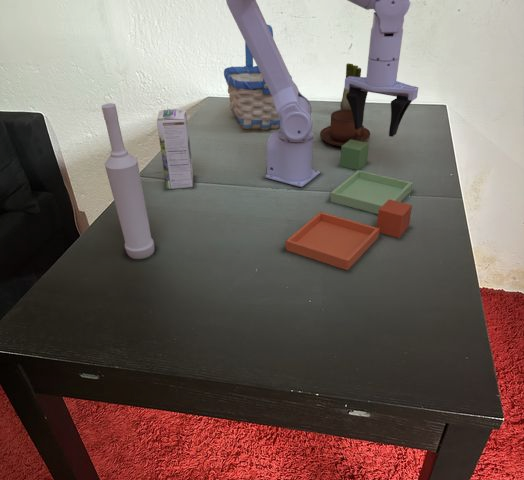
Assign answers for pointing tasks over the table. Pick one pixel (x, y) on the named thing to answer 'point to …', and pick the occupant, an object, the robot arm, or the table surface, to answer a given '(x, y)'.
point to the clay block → (394, 218)
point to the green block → (354, 154)
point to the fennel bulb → (345, 105)
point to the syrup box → (175, 148)
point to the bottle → (127, 190)
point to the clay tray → (333, 240)
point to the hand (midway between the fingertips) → (375, 131)
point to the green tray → (370, 191)
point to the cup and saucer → (343, 129)
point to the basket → (251, 95)
